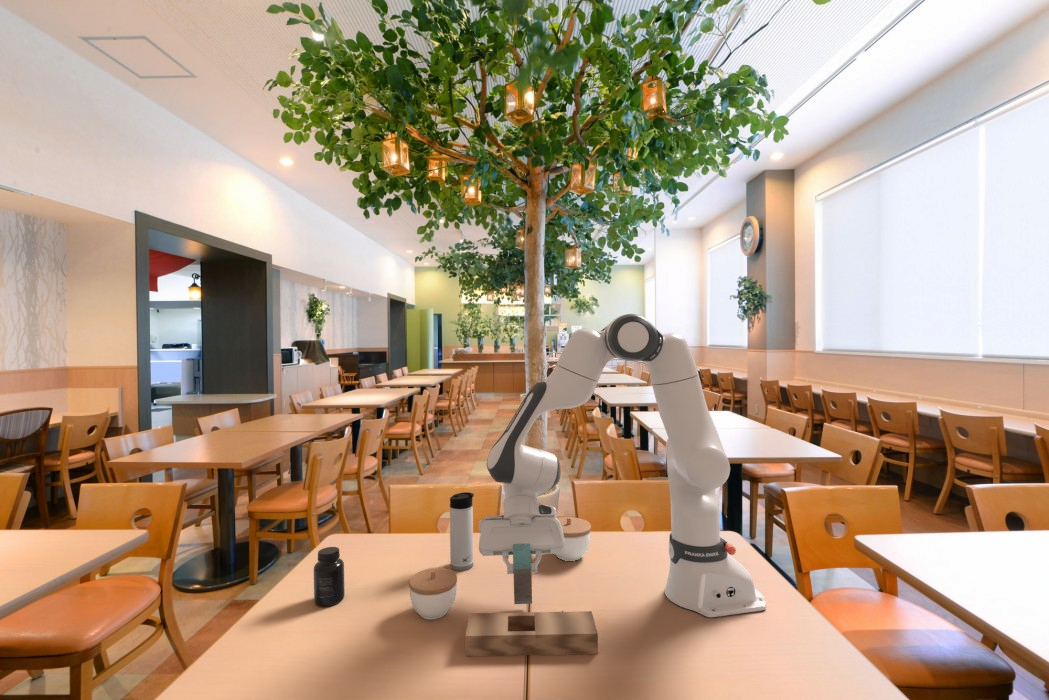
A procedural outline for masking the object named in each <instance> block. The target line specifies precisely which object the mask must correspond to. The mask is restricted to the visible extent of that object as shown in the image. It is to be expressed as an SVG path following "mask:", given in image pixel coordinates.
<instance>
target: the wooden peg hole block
mask: <svg viewBox="0 0 1049 700" xmlns="http://www.w3.org/2000/svg"><path fill="white" fill-rule="evenodd" d="M598 635H599V634H598V629H597V626H596V623H595V619H594V614H593V611H591V610H589V611H586V610H585V611H579V610H578V611H539V612H538V611H535V612H534V611H533V612H532V611H530V612H529V611H527V612H525V611H524V612H522V611H521V612H474V613H472V612H471V613H468V619H467V624H466V630H465V637H464V641H465V657H488V656H489V657H493V656H494V657H499V656H503V657H504V656H545V655H546V656H547V655H549V656H550V655H551V656H552V655H556V656H557V655H598V654H599V644H598V643H599V642H598V641H599V636H598Z"/></svg>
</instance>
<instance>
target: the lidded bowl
mask: <svg viewBox="0 0 1049 700" xmlns="http://www.w3.org/2000/svg"><path fill="white" fill-rule="evenodd" d="M557 519H558V520H559V521H560V523H561V526H562V530H563V535H564V543H565V548H564V550H563V552H562V553H559V554H554V555H555V556H556V558H557V557H558V558H560V559H562V560H566V561H565V562H567V561H573V562H576V561H575V560H578V559H580V558H581V557H582V558H583V557H584V555H585V554H586V553H588V550H589V547H590V542H591V538H592V536H591V535H592V534H591V532H592V524H591V523H590V522H589V521H588V520H586V519H583V518H580V517H574V516H573V517H572V516H562V517H557ZM558 558H557V559H558ZM582 558H581V559H582ZM560 559H559V560H560ZM581 559H580V560H581ZM562 560H561V561H562ZM578 561H579V560H578Z"/></svg>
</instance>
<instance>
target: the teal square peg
mask: <svg viewBox="0 0 1049 700" xmlns="http://www.w3.org/2000/svg"><path fill="white" fill-rule="evenodd" d="M531 563H532V554H531V547H530V543H528V544H513V555H512V564H513V574H512V575H513V602H514V603H513V604H514V605H529V604H530V605H531V604H533V594H532V593H533V591H532V590H533V589H532V587H533V586H532V583H533V582H532V573H531Z"/></svg>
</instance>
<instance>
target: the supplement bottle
mask: <svg viewBox="0 0 1049 700" xmlns="http://www.w3.org/2000/svg"><path fill="white" fill-rule="evenodd" d="M340 555H341V554H340V548H339V547H337V546H328V547H324V548H322V549H319V550H318V551H317V562H316V563H315V564H314V566H313V601H314V604H315V605H316V606H318V607H320V608H321V607H323V608H325V607H326V608H327V607H332V606H335V605H337V604H339V603H341V602H343V600H344V598H345V596H346V595H345V591H346V590H345V563H344V560H343V559H342V558H340Z"/></svg>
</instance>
